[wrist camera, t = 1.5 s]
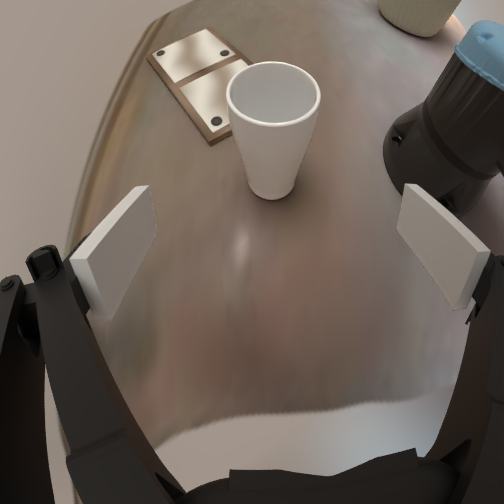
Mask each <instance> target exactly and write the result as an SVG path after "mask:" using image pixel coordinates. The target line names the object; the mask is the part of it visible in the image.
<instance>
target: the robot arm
mask: <svg viewBox="0 0 504 504" xmlns="http://www.w3.org/2000/svg"><path fill="white" fill-rule="evenodd" d="M383 154H384V160H385V164H386V168H387V171H388V173H389V175H390V177H391V179H392V181H393V183H394V184H395V186H396V188H397V189H398V190H399V192H400V193H401V194H402V195H403V197H402V203H401V208H400V213H399V218H398V223H397V228H396V230H397V231H398V233H399V234H400V235H401V237H402V238H403V239H404V240H405V242H406V243H407V244H408V246H409V247H410V248H411V250H412V251H413V252H414V254H415V255H416V256H417V258H418V259H419V261H420V262H421V263H422V265H423V266H424V268H425V269H426V270H427V272H428V273H429V275H430V276H431V278H432V279H433V281H434V282H435V284H436V285H437V286H438V288H439V289H440V291H441V293H442V294H443V296H444V297H445V299H446V300H447V302H448V303H449V305H450V307H451V308H452V310H453V311H454V310H460V309H466V308H467V306H468V304H469V302H470V299H471V297H473V299H474V300H475V301H476V304H475V306H474V308H473V309H472V311H471V313H470V315H469V317H468V319H467V321H466V323H465V324H468V322H470V327H469V332H468V337H467V342H466V346H465V351H464V355H463V359H462V363H461V367H460V371H459V375H458V378H457V382H456V385H455V388H454V392H453V395H452V398H451V401H450V404H449V407H448V410H447V413H446V415H445V418H444V421H443V423H442V426H441V429H440V431H439V434H438V436H437V439H436V441H435V443H434V445H433V446H432V448H431V449H430V451H429V452H428V453H427V454H426V456H425V457H417V453H416V449H415V448H412V449H409V450H405V451H402V452H398V453H393V454H389V455H385V456H381V457H376V458H374V459H372V460H369V461H367V462H365V463H363V464H361V465H358V466H357V467H354V468H351V469H349V470H346V471H344V472H341V473H339V474H336V475H334V476H318V475H310V474H303V473H295V472H290V471H284V470H231V469H230V472H229V478H224V479H219V480H216V481H213V482H209V483H206V484H204V485H201V486H199V487H197V488H195V489H193V490H191V491H189V492H188V493H186V492H185V490H184V489H183V488H182V487H181V485H180V484H179V483H178V482H177V480H176V479H175V478H174V477H173V475H172V474H171V473H170V472H169V471H168V470H167V468H166V467H165V466H164V464H163V463H162V462H161V460H160V459H159V457H158V456H157V454H156V453H155V451H154V450H153V448H152V446H151V445H150V443H149V442H148V440H147V439H146V437H145V435H144V434H143V432H142V430H141V429H140V427H139V425H138V424H137V422H136V420H135V418H134V417H133V415H132V413H131V411H130V409H129V408H128V406H127V404H126V402H125V400H124V398H123V396H122V394H121V392H120V391H119V389H118V387H117V385H116V383H115V381H114V378H113V376H112V374H111V372H110V370H109V368H108V366H107V364H106V361H105V359H104V357H103V355H102V352H101V350H100V348H99V345H98V343H97V341H96V338H95V336H94V333H93V331H92V328H91V326H90V323H89V321H88V319H87V317H86V314H87V312H88V310H89V308H90V309H91V311H92V313H93V316H94V318H95V319H97V320H108V321H112V319H113V317H114V315H115V313H116V311H117V309H118V307H119V305H120V303H121V301H122V299H123V297H124V295H125V293H126V291H127V289H128V287H129V285H130V283H131V281H132V280H133V278H134V276H135V274H136V272H137V270H138V268H139V266H140V265H141V263H142V261H143V259H144V257H145V255H146V254H147V252H148V250H149V248H150V246H151V245H152V243H153V241H154V239H155V238H156V236H157V234H158V230H157V225H156V220H155V215H154V210H153V204H152V199H151V193H150V187H149V185H147V186H137V187H135V188H134V189H133V190H132V191H131V192H130V193H129V194H128V195H127V196H126V197H125V198H124V199H123V200H122V201H121V202H120V203H119V204H118V205H117V206H116V207H115V208H114V209H113V210H112V211H111V212H110V213H109V214H108V215H107V216H106V218H105V219H104V220H103V221H102V222H101V223H100V224H99V225H98V226H97V227H96V228H95V230H94V231H93V232H91V233H90V234H88V235H87V236H85V237H84V238H83V239H82V240H81V241H80V242H79V243H78V245H77V246H76V247H75V248H74V249H73V251H71V253H70V254H69V255H68V256H67V257H66V259H65V260H64V261H63V262H62V260H61V258H60V255H59V252H58V250H57V248H56V246H54V245H46V246H44V247H40V248H39V249H37V250H35V251H34V252H32V253H31V254H30V255H29V256H28V258H27V259H26V264H27V267H28V269H29V271H30V273H31V275H32V278H33V280H34V283H31V284H26V285H24V284H23V282H22V280H21V278H20V277H19V275H12V276H9V277H6V278H4V279H3V280H2V281H1V282H0V504H55V501H54V494H53V489H52V483H51V477H50V470H49V463H48V455H47V444H46V432H45V408H44V383H45V364H46V369H47V373H48V377H49V382H50V386H51V390H52V393H53V397H54V401H55V404H56V408H57V411H58V414H59V417H60V420H61V423H62V426H63V429H64V432H65V435H66V438H67V441H68V443H69V446H70V449H71V454H70V455H68V456H67V457H66V465H67V468H68V471H69V474H70V476H71V479H72V481H73V483H74V485H75V488H76V490H77V492H78V494H79V496H80V498H81V500H82V502H83V504H504V256H497V257H495V256H494V254H493V253H492V252H491V251H490V250H489V249H488V248H487V247H486V246H485V245H484V244H483V243H482V242H481V241H480V240H479V239H478V238H477V237H476V236H475V235H474V234H473V233H472V232H471V231H470V230H469V229H468V228H467V227H466V226H465V225H464V224H463V223H461V222H460V221H459V220H458V219H457V218H458V217H460V216H461V215H463V214H465V213H466V212H468V211H470V210H471V209H472V208H473V207H474V206H475V205H476V203H477V202H478V200H479V199H480V197H481V196H482V194H483V192H484V191H485V189H486V187H487V185H488V184H489V182H490V180H491V179H492V178H493V177H494V176H496V175H497V174H498V173H500V172H501V174H502V175H503V176H504V26H503V25H501V24H499V23H496V22H492V21H479V22H476V23H475V24H473V25H472V26H471V28H470V29H469V31H468V32H467V34H466V35H465V36H464V38H463V39H462V41H461V42H459V43H458V44H457V45H456V47H455V52H454V54H453V55H452V57H451V59H450V61H449V62H448V64H447V66H446V67H445V69H444V71H443V72H442V74H441V75H440V77H439V79H438V80H437V82H436V84H435V85H434V87H433V88H432V90H431V92H430V93H429V95H428V96H427V98H426V99H425V101H424V102H423V103H421V104H419V105H418V106H416V107H414V108H413V109H411V110H409V111H408V112H406V113H404V114H403V115H401V116H400V117H398V118H397V119H396V120H395V122H394V123H393V124H392V126H391V128H390V129H389V131H388V132H387V134H386V137H385V140H384V146H383Z"/></svg>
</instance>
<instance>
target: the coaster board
mask: <svg viewBox="0 0 504 504" xmlns="http://www.w3.org/2000/svg"><path fill="white" fill-rule="evenodd" d="M146 59H147V61H148V62H149V63H150V65H151V66H152V67H153V69H154V70H155V71H156V73H157V74H158V75H159V77H160V78H161V79H162V81H163V82H164V83H165V85H166V86H167V87H168V89H169V90H170V91H171V93H172V94H173V95H174V97H175V98H176V99H177V101H178V102H179V104H180V105H181V106H182V108H183V109H184V110H185V112H186V113H187V114H188V116H189V117H190V119H191V120H192V121H193V123H194V124H195V125H196V127H197V128H198V130H199V131H200V132H201V134H202V135H203V137H204V138H205V139H206V141H207V142H208V144H209V145H210V146H212V145H213V144H215V143H217V142H219V141H221V140H222V139H224V138H226V137H228V136H230V135H232V130H231V126H230V122H229V116H228V110H227V100H226V89H227V86H228V83H229V82H230V80H231V79H232V77H233V76H234V75H235V74H236V73H238V72H239V71H240V70H242V69H244V68H245V67H248V66H250V65H253V63H252V62H251V61H250V60H249V59H248V58H247V57H245V56H244V55H243V54H242V53H241V52H240V51H239V50H237V49H236V48H235V47H234V46H233V45H231V44H230V43H229V42H228V41H227V40H225V39H224V38H223V37H222V36H220V35H219V34H218V33H217V32H215V31H214V30H213V29H212V28H210V27H207V28H205V29H202V30H200V31H197V32H195V33H193V34H190V35H188V36H186V37H184V38H181V39H179V40H177V41H175V42H173V43H171V44H169V45H167V46H165V47H163V48H161V49H159V50H157V51H155V52H153V53H151V54H149V55H147V56H146Z"/></svg>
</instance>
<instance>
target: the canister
mask: <svg viewBox="0 0 504 504" xmlns="http://www.w3.org/2000/svg"><path fill="white" fill-rule="evenodd" d="M378 2H379V9H380V11H381V13H382V14H383V16H384V17H385V18H386V19H387V20H388V21H389V22H391V23H392V24H394V25H395V26H397V27H399V28H400V29H402V30H404V31H406V32H408V33H411V34H414V35H418V36H422V37H431V36H433V35H435V34H437V33H438V32H439V31H440V29H441V28H442V27H443V25H444V24H445V23H446V22H447V20H448V19H449V17H450V16H451V15H452V13H453V12H454V10H455V9H456V7H457V6H458V5H459V3H460V2H461V0H379V1H378Z"/></svg>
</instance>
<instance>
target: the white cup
mask: <svg viewBox="0 0 504 504" xmlns="http://www.w3.org/2000/svg"><path fill="white" fill-rule="evenodd" d="M226 100H227V110H228V116H229V122H230V126H231V130H232V134H233V137H234V140H235V143H236V146H237V149H238V151H239V154H240V157H241V160H242V163H243V166H244V169H245V172H246V175H247V180H248V184H249V187H250V188H251V190H252V191H253V192H254V193H255V194H256V195H257V196H259V197H261V198H264V199H268V200H276V199H280V198H282V197H284V196H286V195H287V194H289V193H290V191H291V190H292V189H293V187H294V185H295V181H296V177H297V174H298V172H299V169H300V167H301V164H302V162H303V159H304V157H305V155H306V152H307V150H308V147H309V145H310V142H311V140H312V137H313V134H314V131H315V127H316V123H317V119H318V113H319V106H320V100H321V93H320V89H319V86H318V84H317V83H316V81H315V80H314V79H313V77H312V76H311V75H309V74H308V73H307V72H306V71H304V70H302V69H301V68H299V67H296V66H294V65H291V64H287V63H282V62H261V63H256V64H253V65H250V66H248V67H245V68H244V69H242V70H240V71H239V72H238V73H236V74H235V75H234V76H233V77H232V79H231V80H230V82H229V83H228V86H227V89H226Z"/></svg>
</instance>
